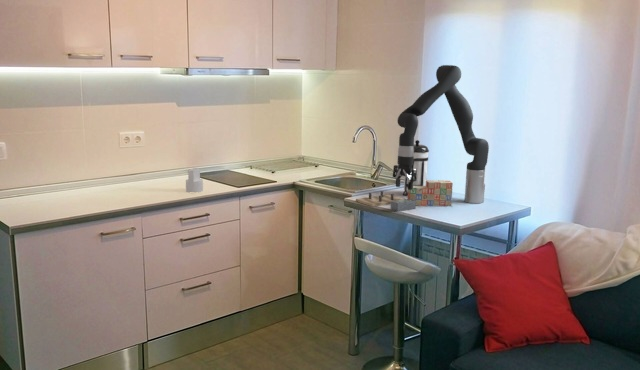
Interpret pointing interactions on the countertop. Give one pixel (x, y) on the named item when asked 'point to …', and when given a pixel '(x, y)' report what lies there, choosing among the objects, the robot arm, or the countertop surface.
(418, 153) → the coffee press
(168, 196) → the countertop surface
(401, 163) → the robot arm
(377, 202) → the pin tray
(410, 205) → the grey rectangular block
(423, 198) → the stack of blocks
